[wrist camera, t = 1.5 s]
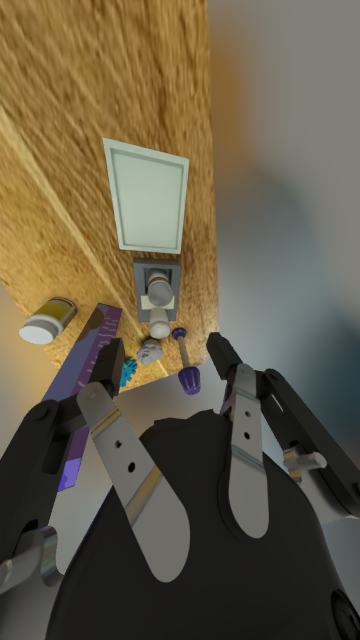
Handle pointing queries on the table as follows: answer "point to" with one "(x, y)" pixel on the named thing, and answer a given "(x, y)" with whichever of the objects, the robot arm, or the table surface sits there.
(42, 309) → the supplement bottle
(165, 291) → the cylinder
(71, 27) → the table surface
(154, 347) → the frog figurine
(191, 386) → the toy lamp
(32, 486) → the robot arm
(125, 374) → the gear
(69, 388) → the cereal box
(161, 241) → the pale green flat frame
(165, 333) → the fuse block
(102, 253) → the table surface
